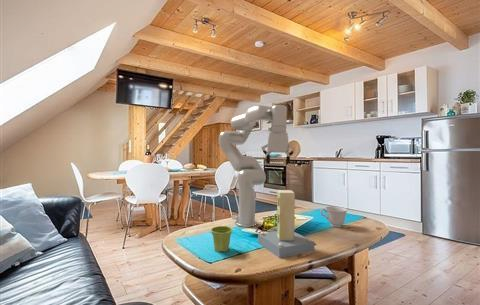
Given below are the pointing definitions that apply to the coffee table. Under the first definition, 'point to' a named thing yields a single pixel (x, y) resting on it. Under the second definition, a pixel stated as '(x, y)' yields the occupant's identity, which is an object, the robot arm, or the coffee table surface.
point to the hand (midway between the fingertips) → (277, 164)
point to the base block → (285, 244)
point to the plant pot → (221, 237)
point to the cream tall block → (285, 215)
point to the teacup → (335, 215)
